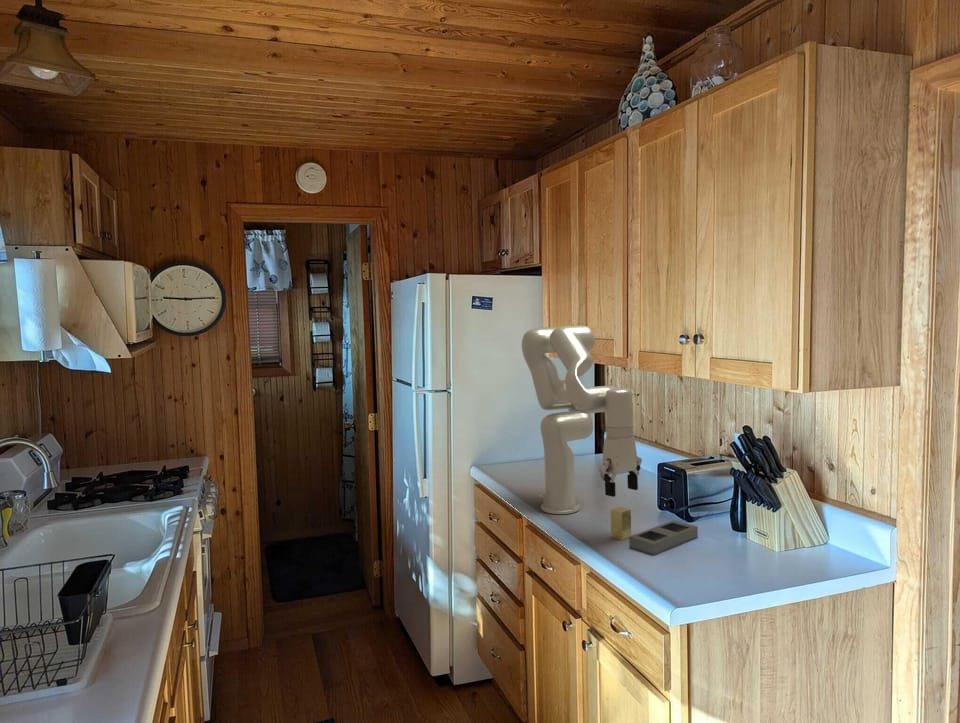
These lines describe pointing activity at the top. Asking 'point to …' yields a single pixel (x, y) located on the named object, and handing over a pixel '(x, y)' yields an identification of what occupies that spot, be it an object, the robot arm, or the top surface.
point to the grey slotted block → (663, 537)
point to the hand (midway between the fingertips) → (621, 492)
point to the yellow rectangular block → (620, 523)
